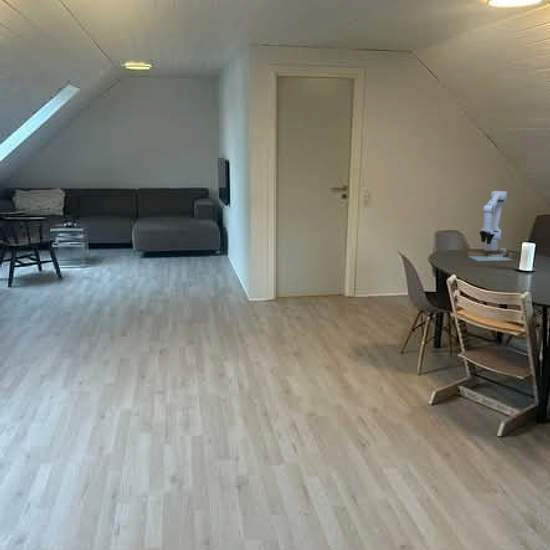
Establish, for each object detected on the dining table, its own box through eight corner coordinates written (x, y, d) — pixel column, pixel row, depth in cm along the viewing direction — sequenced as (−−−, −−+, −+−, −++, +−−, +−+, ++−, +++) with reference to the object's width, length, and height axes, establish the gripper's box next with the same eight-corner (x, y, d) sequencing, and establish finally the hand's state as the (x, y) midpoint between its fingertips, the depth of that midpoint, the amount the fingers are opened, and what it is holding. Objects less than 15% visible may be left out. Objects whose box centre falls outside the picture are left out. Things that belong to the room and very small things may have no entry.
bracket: (501, 256, 384) (502, 247, 382) (505, 257, 379) (506, 249, 377) (487, 256, 383) (488, 247, 381) (491, 258, 378) (492, 249, 376)
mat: (467, 256, 385) (467, 255, 385) (503, 255, 388) (503, 255, 388) (477, 261, 370) (477, 260, 370) (515, 260, 372) (515, 259, 372)
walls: (467, 256, 385) (467, 250, 384) (503, 255, 388) (503, 250, 387) (477, 261, 370) (478, 255, 369) (515, 260, 372) (516, 254, 372)
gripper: (477, 221, 382) (475, 241, 386) (487, 224, 368) (485, 245, 372) (487, 221, 383) (485, 240, 386) (497, 224, 369) (495, 244, 372)
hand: (486, 242), depth 379 cm, fingers open, 7 cm apart
